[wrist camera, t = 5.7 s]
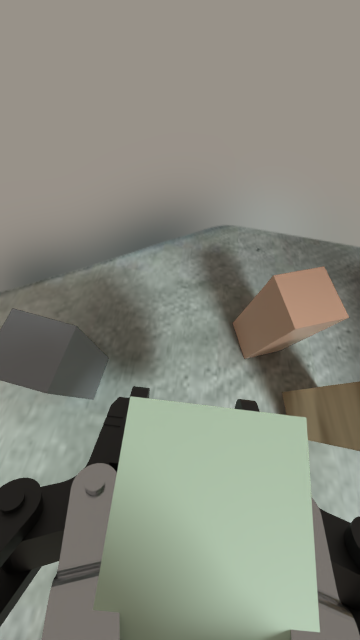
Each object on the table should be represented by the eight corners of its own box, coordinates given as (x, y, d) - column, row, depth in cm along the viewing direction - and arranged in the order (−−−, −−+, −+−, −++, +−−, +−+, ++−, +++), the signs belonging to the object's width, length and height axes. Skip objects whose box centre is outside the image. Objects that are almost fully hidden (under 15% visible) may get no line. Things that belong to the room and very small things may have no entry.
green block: (216, 412, 15) (306, 417, 6) (212, 488, 14) (322, 669, 4) (151, 404, 15) (130, 396, 5) (140, 480, 13) (86, 647, 4)
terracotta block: (266, 316, 27) (324, 266, 18) (279, 350, 26) (349, 317, 16) (232, 322, 26) (273, 275, 17) (244, 358, 25) (295, 329, 16)
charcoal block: (108, 358, 24) (76, 326, 15) (93, 399, 23) (46, 393, 13) (69, 347, 24) (12, 308, 15) (51, 387, 23) (-24, 373, 13)
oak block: (319, 389, 25) (419, 378, 15) (330, 433, 23) (446, 450, 14) (281, 392, 24) (359, 381, 15) (290, 436, 23) (381, 455, 14)
